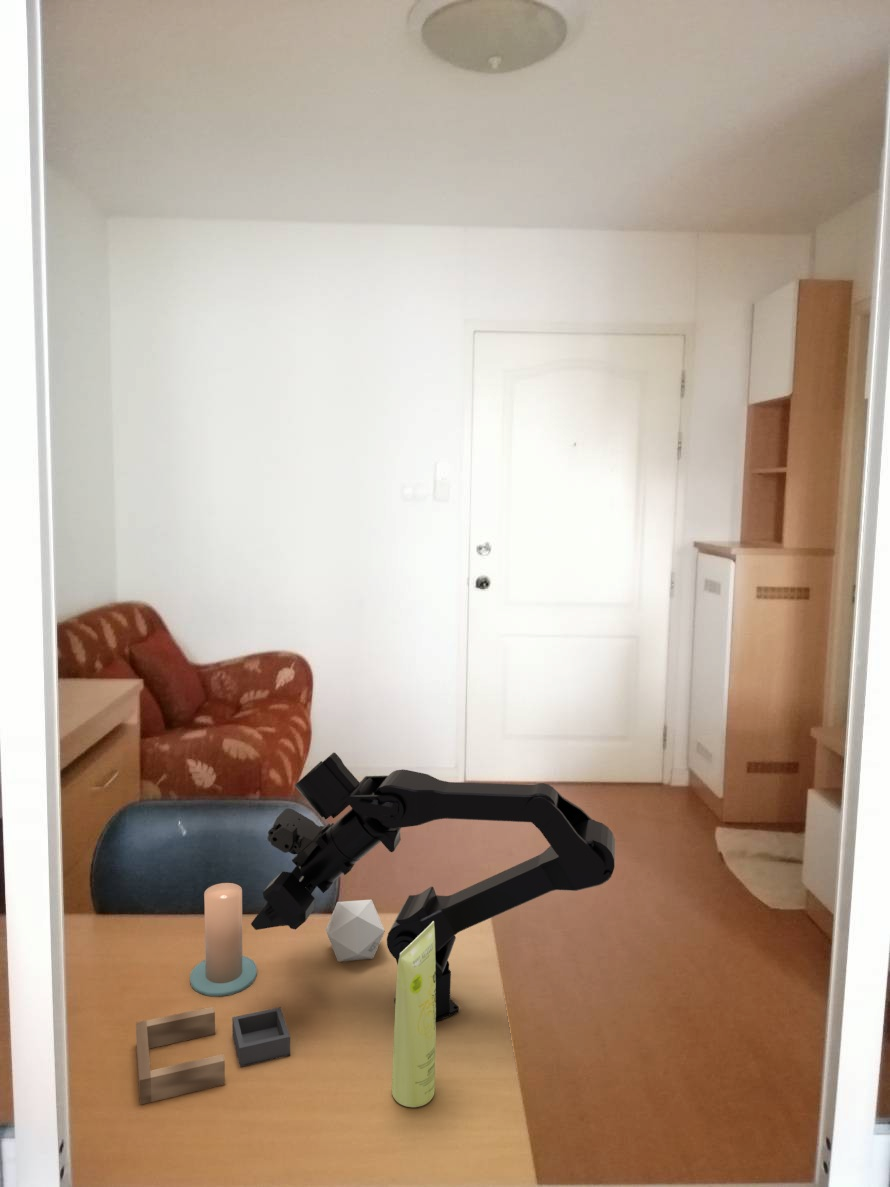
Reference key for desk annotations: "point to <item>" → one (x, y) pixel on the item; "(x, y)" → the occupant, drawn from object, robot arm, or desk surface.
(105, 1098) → the desk surface
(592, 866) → the robot arm
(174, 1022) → the channel
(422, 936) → the tube
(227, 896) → the canister
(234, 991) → the pad
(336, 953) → the die
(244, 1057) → the tray
